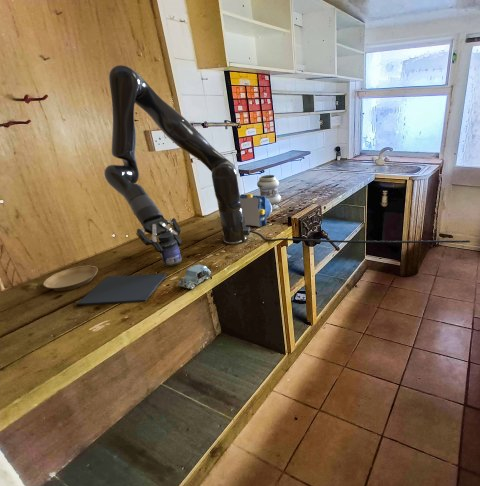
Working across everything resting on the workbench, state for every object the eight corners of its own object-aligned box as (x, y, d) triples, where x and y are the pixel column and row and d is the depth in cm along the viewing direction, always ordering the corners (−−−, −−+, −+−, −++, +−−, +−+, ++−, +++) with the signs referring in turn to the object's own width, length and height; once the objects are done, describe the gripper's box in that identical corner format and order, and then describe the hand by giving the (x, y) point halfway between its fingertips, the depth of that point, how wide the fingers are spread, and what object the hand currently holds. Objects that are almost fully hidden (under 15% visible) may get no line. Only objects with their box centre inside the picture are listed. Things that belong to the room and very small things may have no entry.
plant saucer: (41, 284, 105) (38, 278, 104) (92, 267, 115) (90, 261, 114) (52, 300, 96) (49, 293, 95) (106, 280, 106) (103, 273, 105)
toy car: (179, 289, 100) (175, 275, 98) (202, 274, 108) (199, 262, 106) (194, 293, 97) (190, 279, 95) (216, 278, 106) (214, 265, 104)
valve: (261, 227, 146) (260, 195, 142) (235, 224, 151) (233, 193, 147) (276, 222, 158) (275, 192, 154) (251, 219, 163) (249, 190, 159)
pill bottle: (185, 260, 115) (178, 232, 111) (173, 268, 110) (165, 239, 105) (172, 258, 117) (165, 231, 112) (159, 265, 112) (151, 237, 107)
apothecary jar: (255, 210, 172) (251, 178, 164) (267, 204, 182) (264, 173, 174) (274, 212, 167) (271, 179, 160) (285, 206, 177) (282, 174, 170)
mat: (166, 274, 109) (166, 273, 108) (145, 301, 94) (145, 299, 94) (108, 278, 108) (107, 276, 107) (77, 305, 93) (76, 303, 93)
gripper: (126, 210, 104) (152, 251, 102) (167, 199, 114) (192, 236, 113) (123, 222, 109) (149, 261, 107) (163, 211, 119) (187, 246, 118)
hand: (171, 248), depth 110 cm, fingers closed on pill bottle, 6 cm apart
